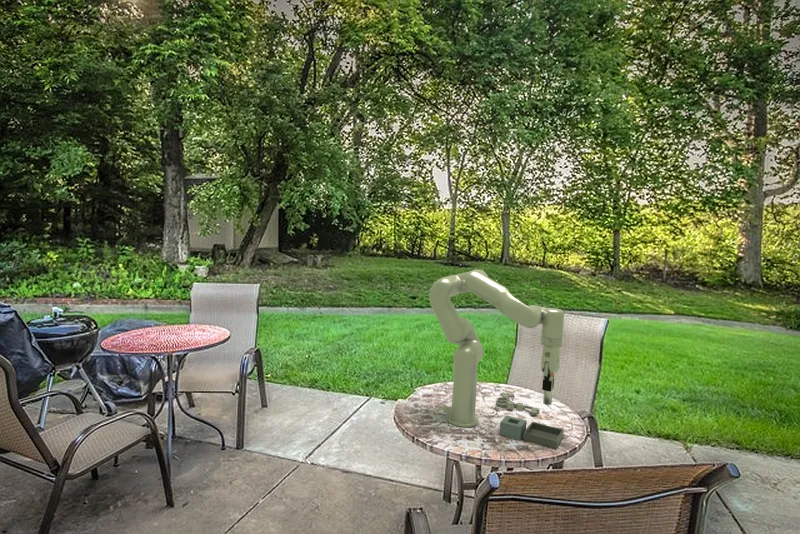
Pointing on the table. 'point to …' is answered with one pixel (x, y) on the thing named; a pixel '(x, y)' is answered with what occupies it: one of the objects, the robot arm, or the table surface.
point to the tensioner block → (512, 427)
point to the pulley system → (508, 404)
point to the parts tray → (543, 435)
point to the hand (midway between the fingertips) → (547, 388)
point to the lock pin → (548, 394)
